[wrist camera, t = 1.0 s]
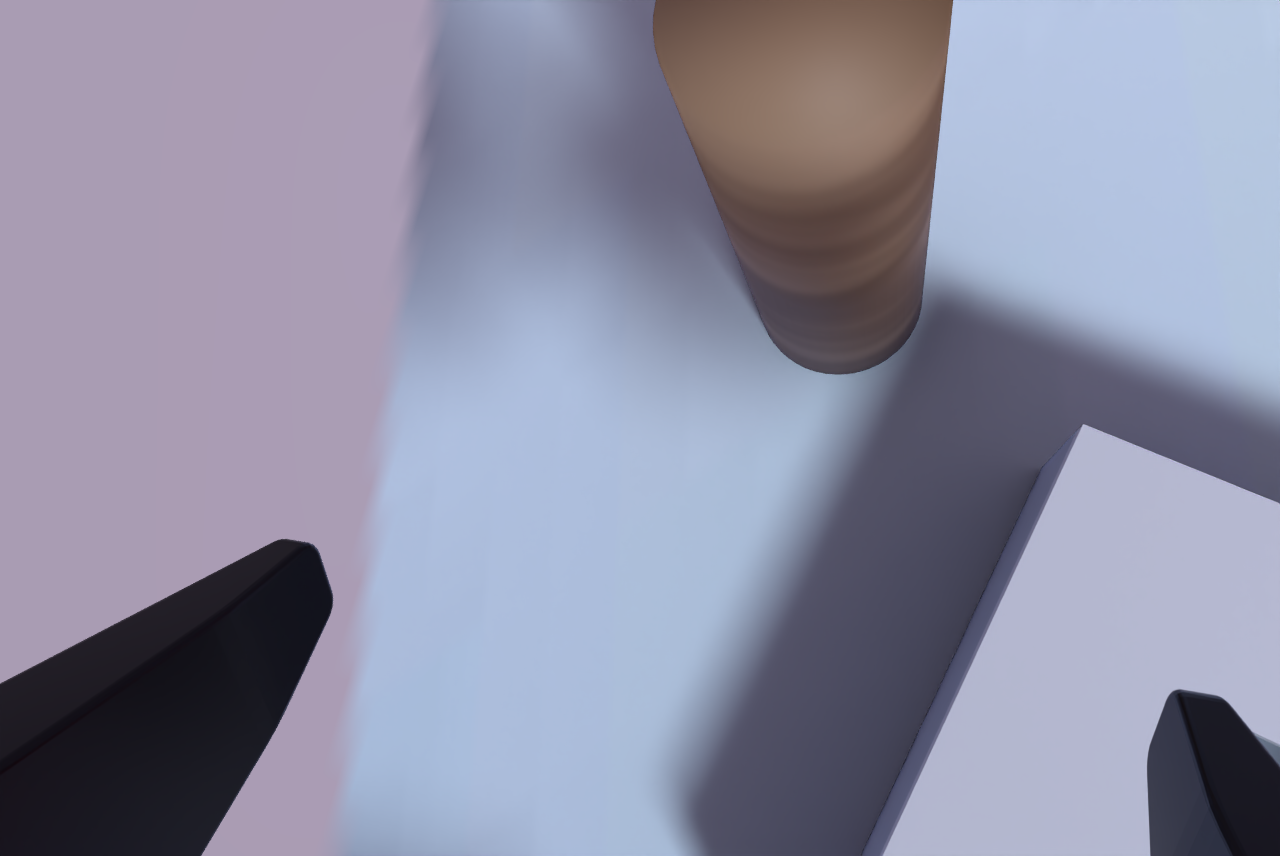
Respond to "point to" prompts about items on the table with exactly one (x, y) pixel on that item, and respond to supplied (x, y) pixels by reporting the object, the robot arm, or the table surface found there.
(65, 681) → the robot arm
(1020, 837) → the box
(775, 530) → the table surface
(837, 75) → the peg
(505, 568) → the table surface
